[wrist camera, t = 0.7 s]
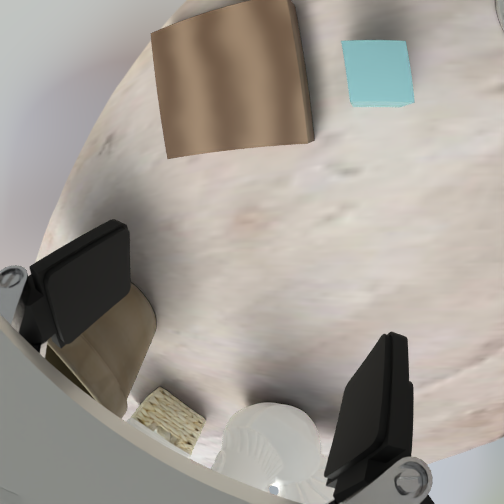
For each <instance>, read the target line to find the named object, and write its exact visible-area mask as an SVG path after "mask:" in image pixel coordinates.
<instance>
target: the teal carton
mask: <svg viewBox="0 0 504 504" xmlns="http://www.w3.org/2000/svg"><path fill="white" fill-rule="evenodd" d="M341 42H342V48H343V54H344V60H345V67H346V74H347V81H348V89H349V97H350V102H351V104H352V106H353V107H402V106H405V105H408V104H412V103H415V102H414V92H413V84H412V77H411V70H410V63H409V57H408V51H407V46H406V41H396V40H352V41H341Z"/></svg>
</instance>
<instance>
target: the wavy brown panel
mask: <svg viewBox="0 0 504 504" xmlns="http://www.w3.org/2000/svg"><path fill="white" fill-rule="evenodd" d="M151 42H152V52H153V61H154V70H155V78H156V86H157V94H158V101H159V108H160V115H161V122H162V128H163V135H164V141H165V147H166V153H167V159H171V158H177V157H183V156H189V155H196V154H203V153H210V152H218V151H226V150H235V149H244V148H254V147H265V146H277V145H291V144H308V143H310V142H312V141H314V132H313V122H312V114H311V105H310V97H309V89H308V82H307V75H306V68H305V61H304V55H303V48H302V42H301V36H300V31H299V25H298V20H297V14H296V9H295V5H294V4H293V3H292V1H291V0H250V1H245V2H241V3H237V4H234V5H230V6H226V7H223V8H219V9H216V10H213V11H209V12H206V13H203V14H200V15H197V16H194V17H191V18H188V19H186V20H183V21H180V22H178V23H175V24H172V25H170V26H167V27H165V28H162V29H160V30H158V31H155V32H153V33H151Z"/></svg>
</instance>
